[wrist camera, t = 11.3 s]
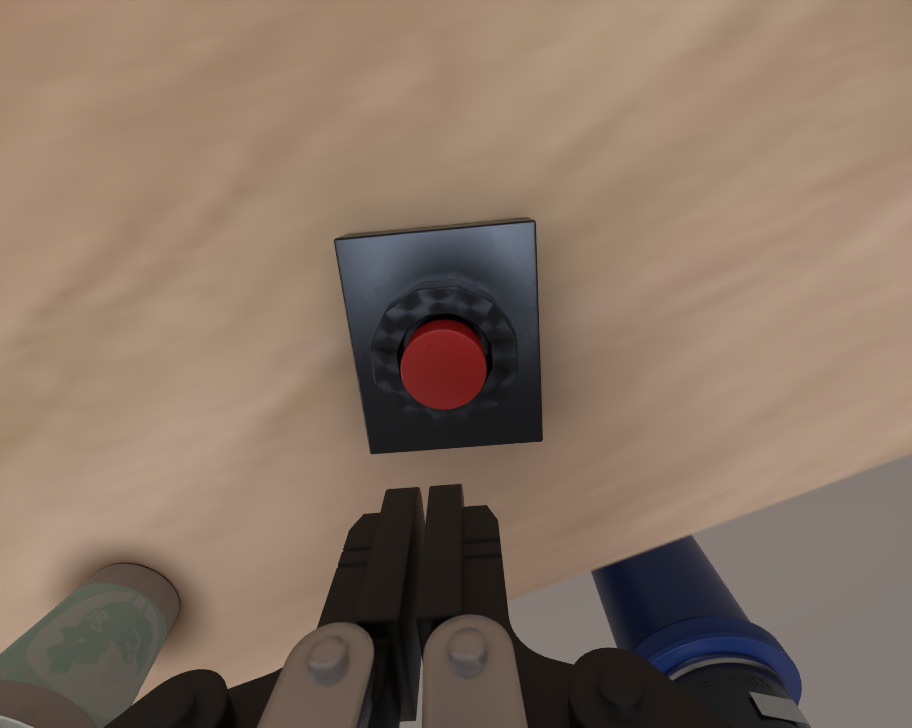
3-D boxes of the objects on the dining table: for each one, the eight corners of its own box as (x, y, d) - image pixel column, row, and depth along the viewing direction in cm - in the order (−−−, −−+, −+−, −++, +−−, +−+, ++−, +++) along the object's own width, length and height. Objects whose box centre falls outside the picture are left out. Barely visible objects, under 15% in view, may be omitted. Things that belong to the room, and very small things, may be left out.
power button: (487, 391, 22) (489, 406, 20) (410, 397, 22) (406, 413, 21) (481, 315, 21) (483, 325, 19) (400, 322, 21) (394, 333, 19)
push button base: (536, 422, 27) (549, 460, 23) (377, 434, 27) (363, 474, 23) (529, 217, 23) (542, 222, 19) (344, 234, 23) (322, 242, 20)
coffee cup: (226, 624, 32) (98, 860, 21) (122, 660, 33) (-53, 902, 22) (150, 527, 29) (-45, 737, 18) (40, 570, 31) (-207, 792, 19)
